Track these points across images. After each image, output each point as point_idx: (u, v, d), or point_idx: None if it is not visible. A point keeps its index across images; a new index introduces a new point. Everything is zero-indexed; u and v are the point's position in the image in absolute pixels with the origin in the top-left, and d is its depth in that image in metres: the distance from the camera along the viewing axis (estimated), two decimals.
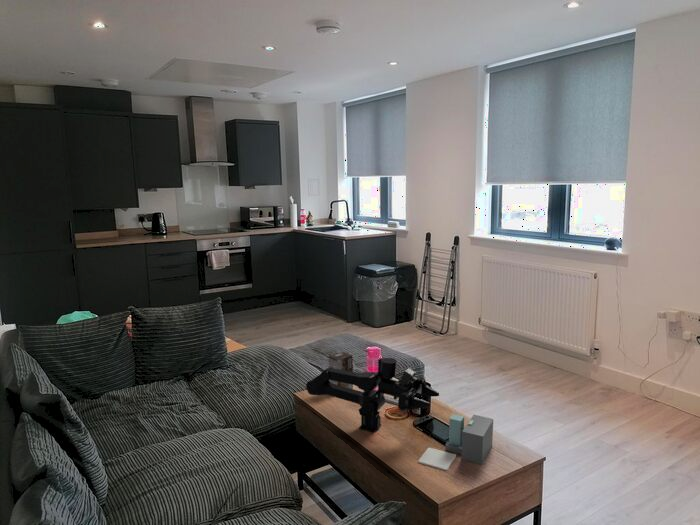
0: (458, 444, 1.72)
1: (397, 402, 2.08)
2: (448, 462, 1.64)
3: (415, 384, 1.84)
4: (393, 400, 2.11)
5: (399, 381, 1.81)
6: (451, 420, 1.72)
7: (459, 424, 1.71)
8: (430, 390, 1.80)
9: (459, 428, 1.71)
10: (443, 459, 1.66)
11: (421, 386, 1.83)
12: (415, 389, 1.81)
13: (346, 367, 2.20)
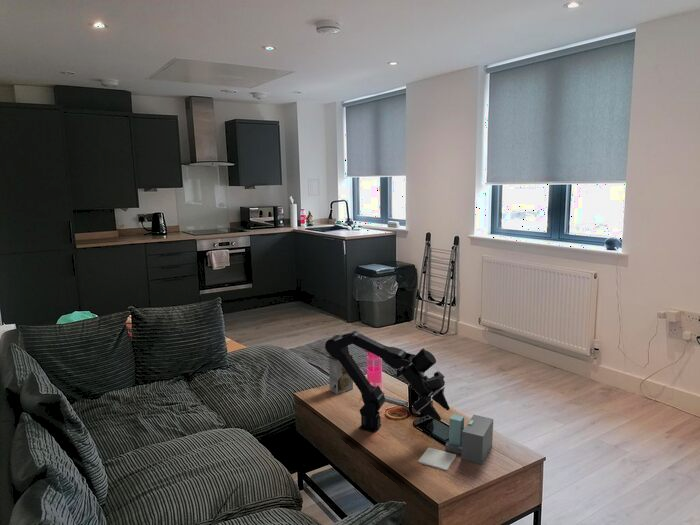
0: (458, 444, 1.72)
1: (398, 402, 2.09)
2: (448, 462, 1.64)
3: None
4: (394, 400, 2.11)
5: (424, 378, 1.78)
6: (451, 420, 1.72)
7: (459, 424, 1.71)
8: (443, 401, 1.80)
9: (459, 428, 1.71)
10: (443, 459, 1.66)
11: (438, 391, 1.82)
12: (432, 392, 1.80)
13: None
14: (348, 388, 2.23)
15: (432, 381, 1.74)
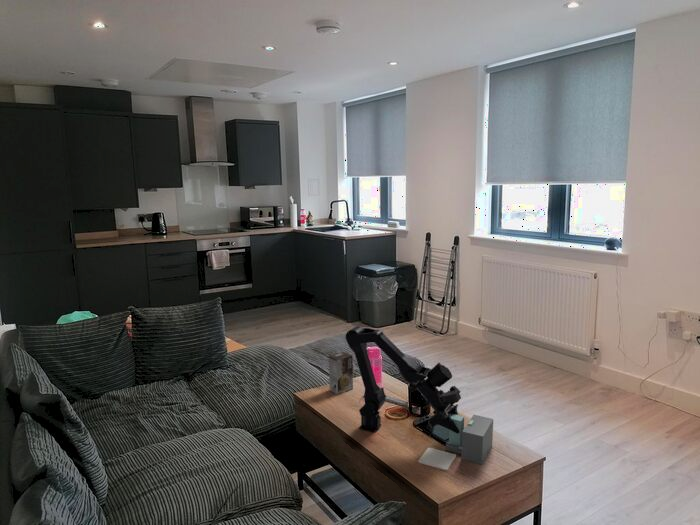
0: (458, 444, 1.72)
1: (399, 402, 2.09)
2: (448, 462, 1.64)
3: None
4: (395, 400, 2.11)
5: (440, 392, 1.76)
6: None
7: (459, 424, 1.71)
8: None
9: (459, 428, 1.71)
10: (443, 459, 1.66)
11: (451, 408, 1.77)
12: (448, 406, 1.78)
13: (346, 367, 2.20)
14: (348, 388, 2.23)
15: (448, 396, 1.71)
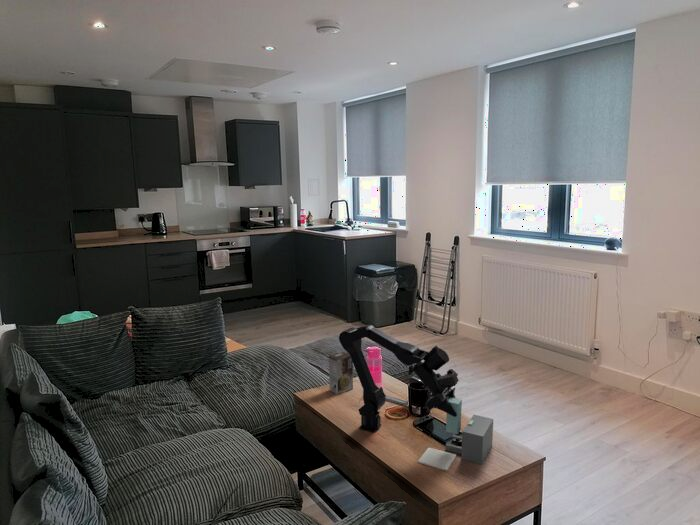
0: (455, 427, 1.70)
1: (401, 402, 2.09)
2: (448, 462, 1.64)
3: None
4: (397, 400, 2.11)
5: (437, 375, 1.74)
6: None
7: (457, 407, 1.69)
8: None
9: (457, 411, 1.69)
10: (443, 459, 1.66)
11: (448, 392, 1.75)
12: (445, 390, 1.75)
13: (346, 367, 2.20)
14: (348, 388, 2.23)
15: (446, 379, 1.69)
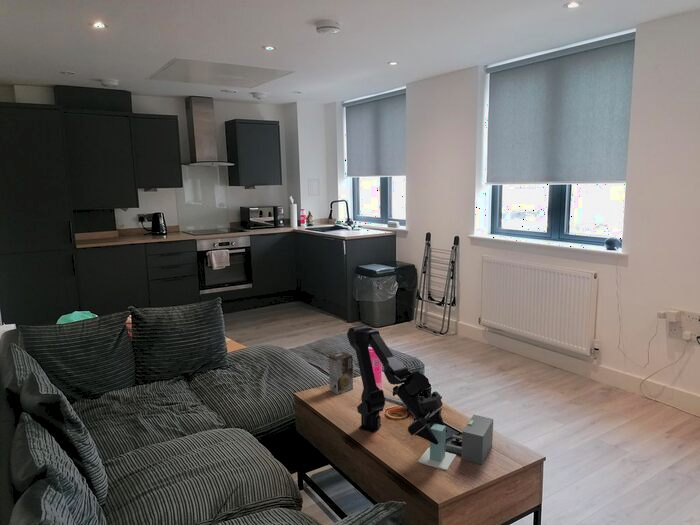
0: (439, 455, 1.64)
1: (402, 402, 2.08)
2: (448, 462, 1.64)
3: None
4: (398, 400, 2.11)
5: (421, 398, 1.68)
6: (432, 430, 1.64)
7: (440, 434, 1.63)
8: (441, 423, 1.70)
9: (440, 439, 1.63)
10: (443, 459, 1.66)
11: (435, 412, 1.71)
12: (429, 413, 1.69)
13: (346, 367, 2.20)
14: (348, 388, 2.23)
15: (429, 402, 1.63)
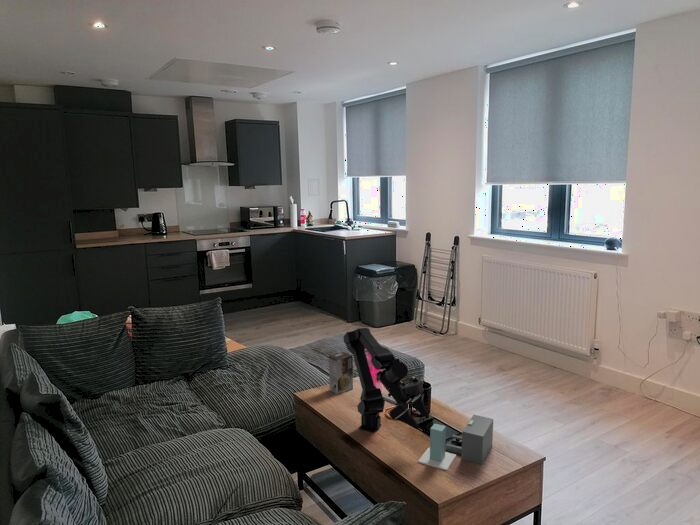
0: (439, 455, 1.64)
1: None
2: (448, 462, 1.64)
3: None
4: None
5: (403, 384, 1.70)
6: (432, 430, 1.64)
7: (440, 434, 1.63)
8: (423, 408, 1.72)
9: (440, 439, 1.63)
10: (443, 459, 1.66)
11: (417, 398, 1.74)
12: (411, 398, 1.72)
13: (346, 367, 2.20)
14: (348, 388, 2.23)
15: (410, 387, 1.66)
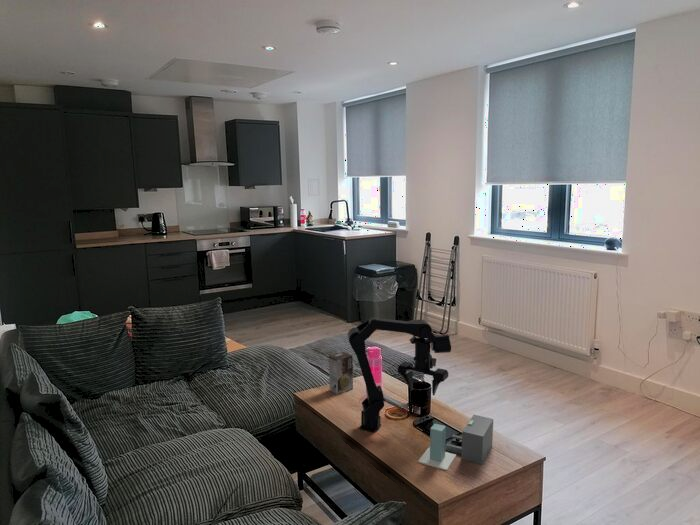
0: (439, 455, 1.64)
1: (399, 405, 2.06)
2: (448, 462, 1.64)
3: (410, 365, 1.91)
4: (397, 402, 2.09)
5: None
6: (432, 430, 1.64)
7: (440, 434, 1.63)
8: (412, 381, 1.92)
9: (440, 439, 1.63)
10: (443, 459, 1.66)
11: (410, 371, 1.92)
12: None
13: (346, 367, 2.20)
14: (348, 388, 2.23)
15: (434, 359, 1.91)
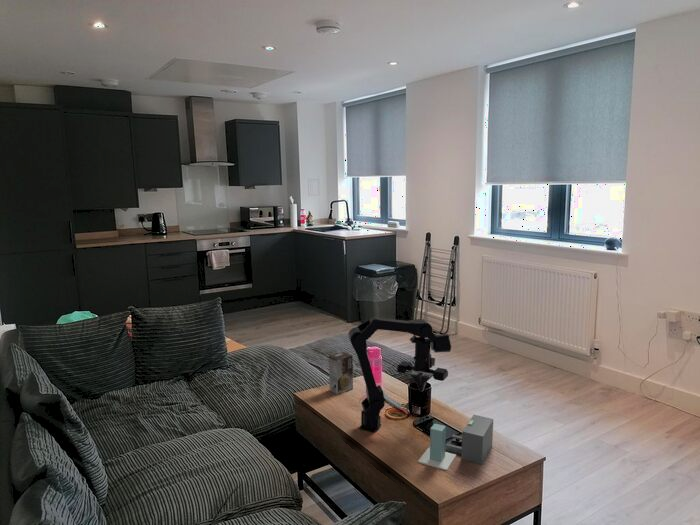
0: (439, 455, 1.64)
1: (397, 406, 2.05)
2: (448, 462, 1.64)
3: (410, 364, 1.92)
4: (395, 403, 2.08)
5: None
6: (432, 430, 1.64)
7: (440, 434, 1.63)
8: None
9: (440, 439, 1.63)
10: (443, 459, 1.66)
11: None
12: None
13: (346, 367, 2.20)
14: (348, 388, 2.23)
15: (433, 359, 1.92)
